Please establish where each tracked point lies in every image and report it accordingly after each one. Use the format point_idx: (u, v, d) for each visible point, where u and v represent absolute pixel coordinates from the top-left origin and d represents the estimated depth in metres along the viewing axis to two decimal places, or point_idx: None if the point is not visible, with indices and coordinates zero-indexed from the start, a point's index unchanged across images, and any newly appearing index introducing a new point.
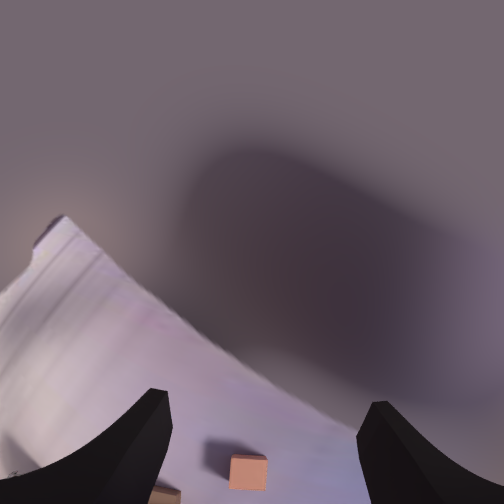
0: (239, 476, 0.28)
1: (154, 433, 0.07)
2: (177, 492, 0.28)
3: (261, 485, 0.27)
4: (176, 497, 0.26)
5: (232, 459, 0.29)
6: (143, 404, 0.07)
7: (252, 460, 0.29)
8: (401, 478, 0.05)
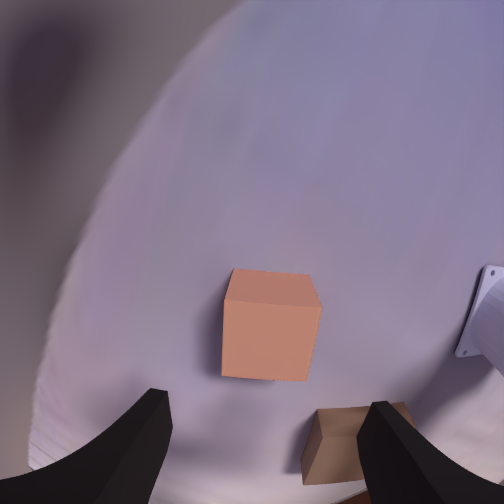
0: (274, 363, 0.14)
1: (154, 433, 0.07)
2: (318, 423, 0.19)
3: (305, 317, 0.13)
4: (326, 434, 0.18)
5: (225, 373, 0.14)
6: (143, 404, 0.07)
7: (226, 334, 0.14)
8: (401, 478, 0.05)
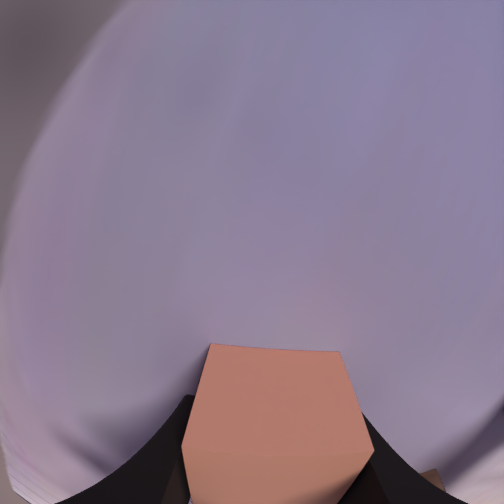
0: None
1: None
2: None
3: (340, 465, 0.05)
4: None
5: None
6: (183, 412, 0.07)
7: (193, 481, 0.06)
8: (361, 486, 0.05)
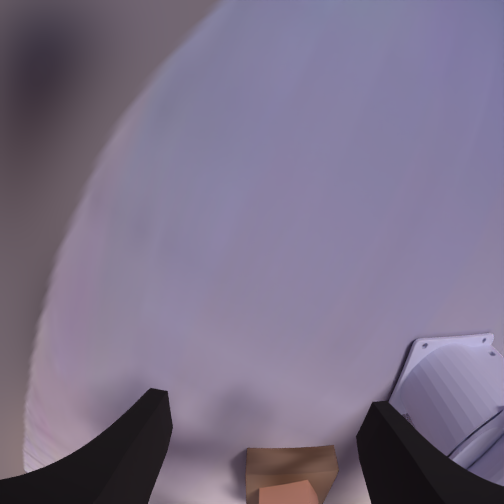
0: None
1: (154, 433, 0.07)
2: (246, 460, 0.21)
3: None
4: (250, 471, 0.19)
5: None
6: (143, 404, 0.07)
7: None
8: (401, 478, 0.05)
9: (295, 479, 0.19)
